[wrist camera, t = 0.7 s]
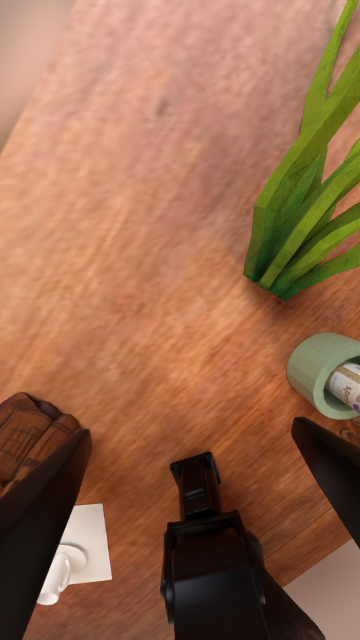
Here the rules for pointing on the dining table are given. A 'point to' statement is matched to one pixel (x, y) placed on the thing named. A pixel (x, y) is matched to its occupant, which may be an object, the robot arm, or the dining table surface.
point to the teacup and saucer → (79, 553)
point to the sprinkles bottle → (345, 384)
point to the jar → (322, 371)
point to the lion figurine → (356, 421)
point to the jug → (282, 607)
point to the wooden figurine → (29, 436)
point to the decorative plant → (310, 189)
